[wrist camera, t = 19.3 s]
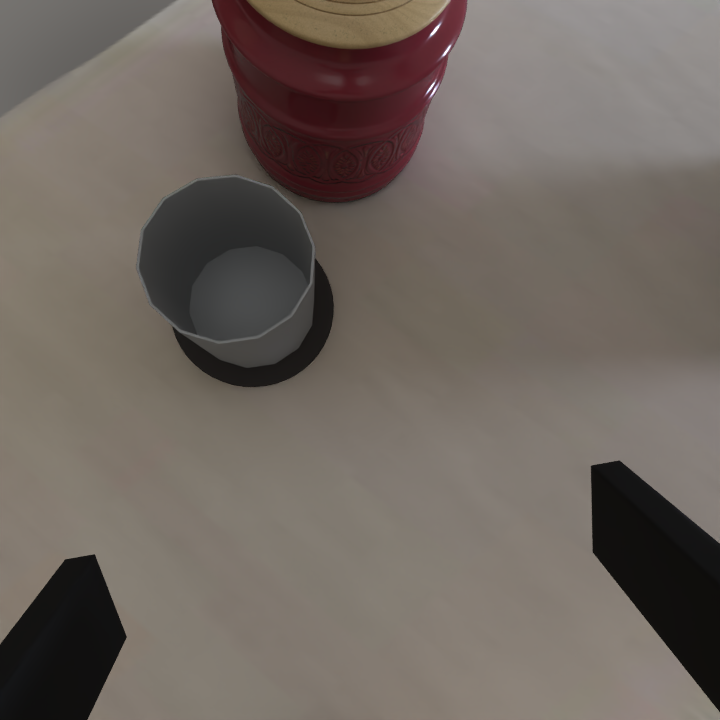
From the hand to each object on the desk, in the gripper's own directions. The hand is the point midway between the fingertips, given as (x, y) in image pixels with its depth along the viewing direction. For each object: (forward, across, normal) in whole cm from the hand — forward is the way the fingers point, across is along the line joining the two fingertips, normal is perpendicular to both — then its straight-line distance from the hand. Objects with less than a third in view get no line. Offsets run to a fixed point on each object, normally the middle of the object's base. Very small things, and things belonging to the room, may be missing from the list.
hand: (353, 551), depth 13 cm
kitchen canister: (+29, +2, +15) cm, 32 cm away
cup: (+22, -5, +3) cm, 23 cm away
